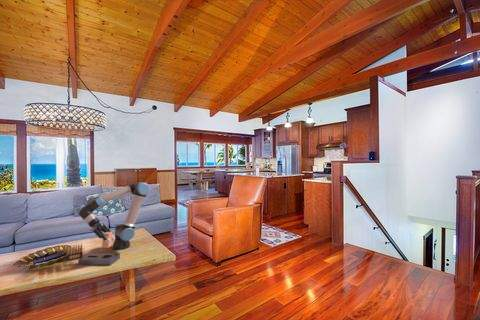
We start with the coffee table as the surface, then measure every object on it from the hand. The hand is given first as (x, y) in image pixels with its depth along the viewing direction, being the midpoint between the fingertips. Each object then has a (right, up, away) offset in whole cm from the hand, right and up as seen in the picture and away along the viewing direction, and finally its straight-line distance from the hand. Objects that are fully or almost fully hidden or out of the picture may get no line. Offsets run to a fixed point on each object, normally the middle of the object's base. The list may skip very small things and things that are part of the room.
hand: (111, 241), depth 180 cm
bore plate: (-10, -17, 0) cm, 19 cm away
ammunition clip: (-34, -17, +4) cm, 38 cm away
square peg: (-4, -4, 0) cm, 6 cm away
